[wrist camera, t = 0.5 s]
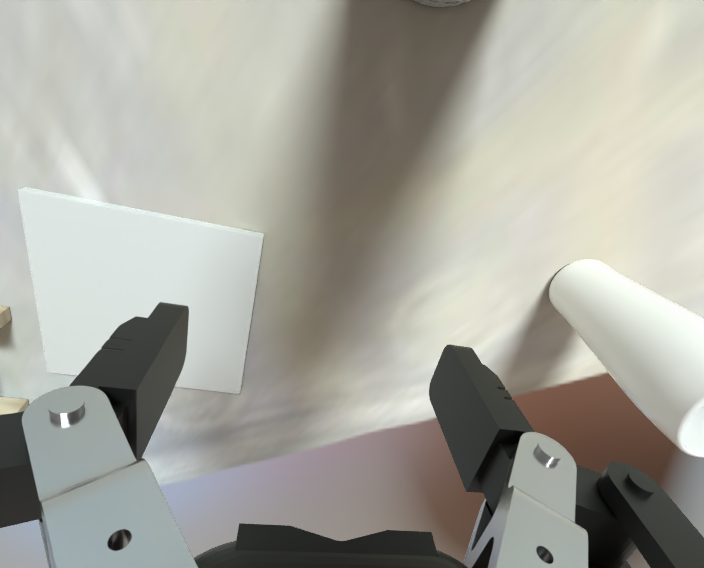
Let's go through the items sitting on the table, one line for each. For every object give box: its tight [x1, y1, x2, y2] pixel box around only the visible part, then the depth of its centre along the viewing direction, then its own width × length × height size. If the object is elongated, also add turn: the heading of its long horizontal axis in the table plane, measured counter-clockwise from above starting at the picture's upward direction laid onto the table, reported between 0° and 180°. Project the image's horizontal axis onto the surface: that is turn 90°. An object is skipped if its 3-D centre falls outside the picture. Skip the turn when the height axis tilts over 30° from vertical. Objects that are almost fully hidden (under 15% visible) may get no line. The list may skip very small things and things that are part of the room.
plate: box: [18, 187, 264, 394], centre depth 31 cm, size 16×16×1 cm
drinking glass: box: [549, 259, 704, 457], centre depth 27 cm, size 7×7×15 cm
